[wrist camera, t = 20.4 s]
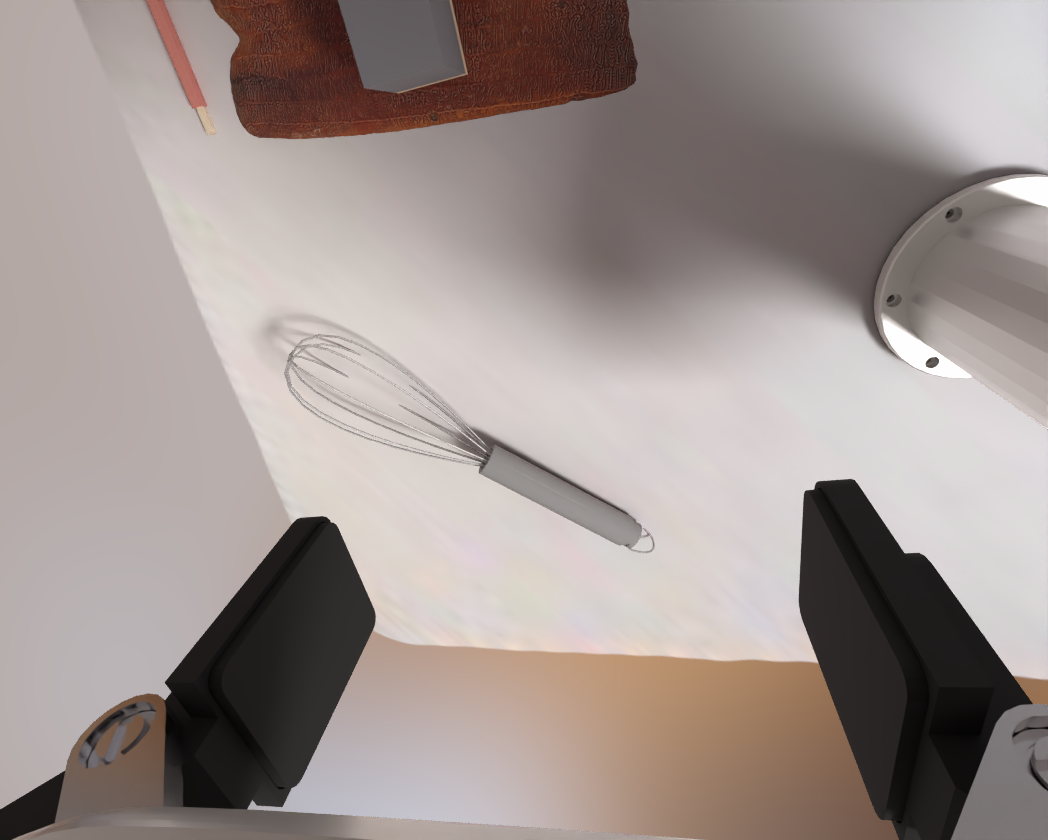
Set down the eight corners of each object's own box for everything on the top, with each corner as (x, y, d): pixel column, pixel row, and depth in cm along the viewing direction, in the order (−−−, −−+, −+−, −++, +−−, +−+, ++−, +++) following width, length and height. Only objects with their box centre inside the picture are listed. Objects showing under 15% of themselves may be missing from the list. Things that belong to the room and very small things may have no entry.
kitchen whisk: (633, 557, 50) (636, 611, 44) (300, 367, 45) (257, 401, 40) (675, 515, 47) (684, 567, 41) (324, 307, 42) (281, 334, 37)
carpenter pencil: (127, -88, 31) (118, -93, 31) (219, 132, 37) (212, 132, 36) (118, -85, 32) (108, -89, 31) (210, 135, 37) (204, 135, 36)
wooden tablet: (253, 143, 37) (238, 144, 36) (203, -44, 33) (184, -51, 31) (646, 116, 33) (647, 116, 32) (655, -100, 29) (658, -112, 27)
